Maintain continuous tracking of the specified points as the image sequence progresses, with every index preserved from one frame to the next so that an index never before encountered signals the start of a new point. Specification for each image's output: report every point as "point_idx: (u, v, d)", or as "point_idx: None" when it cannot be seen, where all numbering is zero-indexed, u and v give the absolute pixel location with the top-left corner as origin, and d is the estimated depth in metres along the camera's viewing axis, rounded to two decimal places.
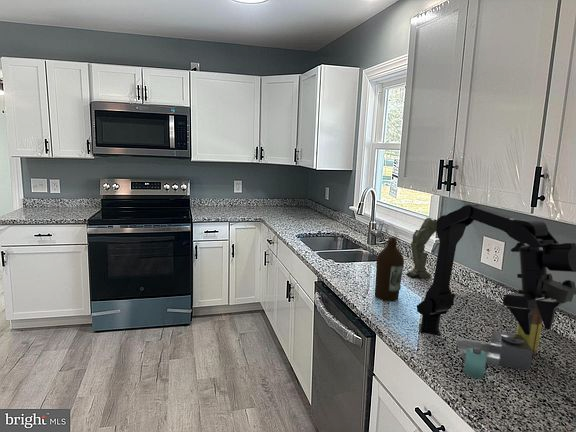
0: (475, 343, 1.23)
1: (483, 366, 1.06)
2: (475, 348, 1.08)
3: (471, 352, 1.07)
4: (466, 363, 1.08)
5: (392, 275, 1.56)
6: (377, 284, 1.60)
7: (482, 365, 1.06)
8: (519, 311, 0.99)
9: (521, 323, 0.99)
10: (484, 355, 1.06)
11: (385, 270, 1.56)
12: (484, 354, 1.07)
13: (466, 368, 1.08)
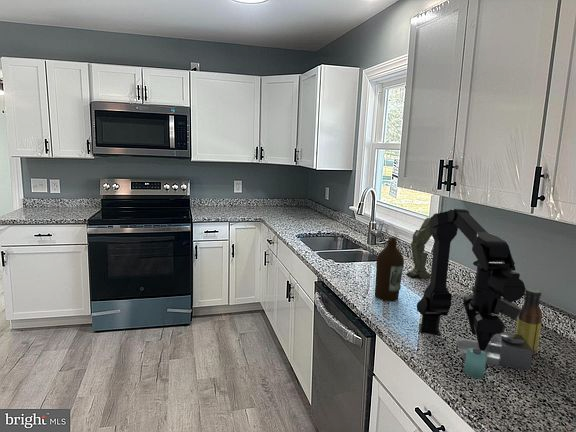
0: (475, 343, 1.23)
1: (483, 366, 1.06)
2: (475, 348, 1.08)
3: (471, 352, 1.07)
4: (466, 363, 1.08)
5: (392, 275, 1.56)
6: (377, 284, 1.60)
7: (482, 365, 1.06)
8: None
9: (481, 341, 1.02)
10: (484, 355, 1.06)
11: (385, 270, 1.56)
12: (484, 354, 1.07)
13: (466, 368, 1.08)
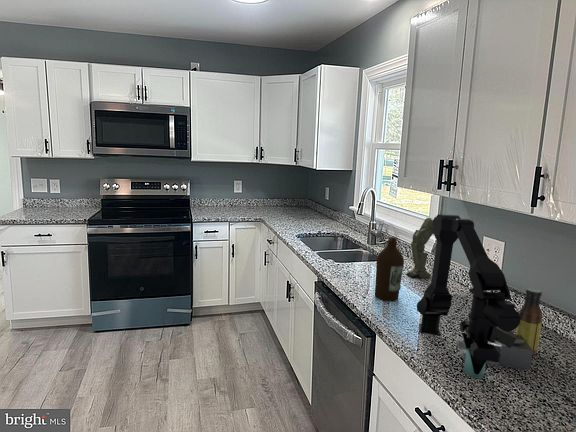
0: None
1: (483, 366, 1.06)
2: None
3: None
4: (466, 363, 1.08)
5: (392, 275, 1.56)
6: (377, 284, 1.60)
7: None
8: None
9: (475, 365, 1.05)
10: None
11: (385, 270, 1.56)
12: None
13: (466, 368, 1.08)
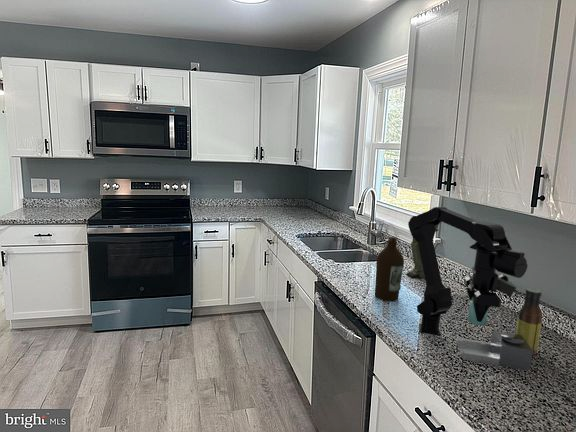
0: (475, 343, 1.23)
1: (486, 314, 1.15)
2: None
3: None
4: (470, 312, 1.17)
5: (392, 275, 1.56)
6: (377, 284, 1.60)
7: None
8: None
9: (478, 313, 1.14)
10: None
11: (385, 270, 1.56)
12: None
13: (469, 317, 1.17)
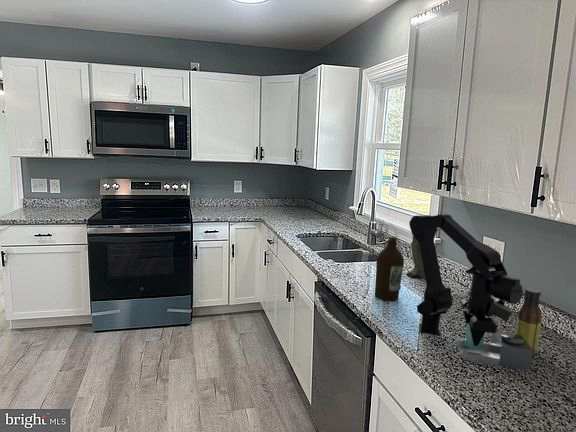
0: None
1: (482, 338, 1.17)
2: None
3: None
4: (466, 336, 1.19)
5: (392, 275, 1.56)
6: (377, 284, 1.60)
7: None
8: None
9: (475, 337, 1.15)
10: None
11: (385, 270, 1.56)
12: None
13: (466, 341, 1.19)
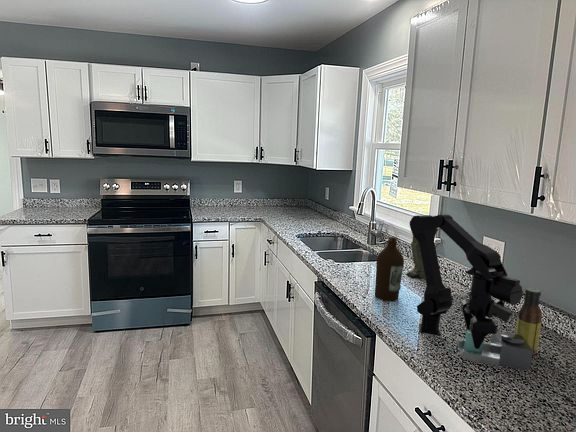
0: None
1: (481, 345, 1.17)
2: None
3: (470, 333, 1.18)
4: (466, 343, 1.19)
5: (392, 275, 1.56)
6: (377, 284, 1.60)
7: None
8: (477, 331, 1.13)
9: (476, 340, 1.14)
10: None
11: (385, 270, 1.56)
12: None
13: (465, 348, 1.19)
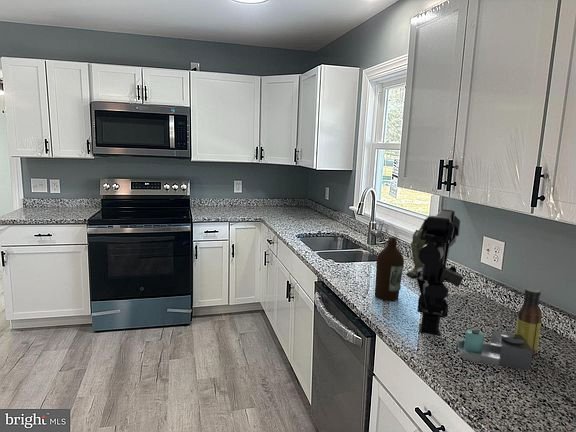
0: None
1: (481, 345, 1.17)
2: (474, 329, 1.19)
3: (470, 333, 1.19)
4: (466, 343, 1.19)
5: (392, 275, 1.56)
6: (377, 284, 1.60)
7: (480, 344, 1.17)
8: (430, 296, 1.14)
9: (429, 306, 1.15)
10: (482, 335, 1.17)
11: (385, 270, 1.56)
12: (482, 334, 1.18)
13: (465, 348, 1.19)
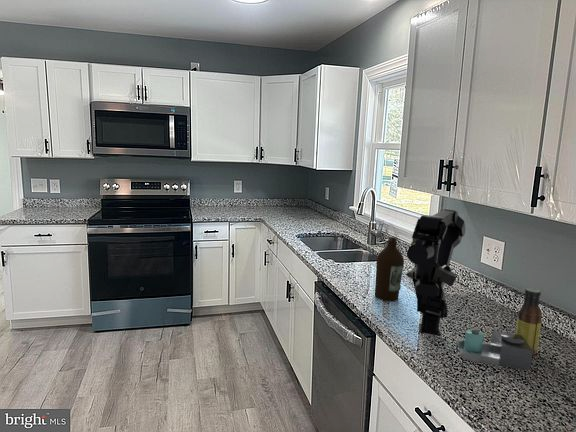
0: None
1: (481, 345, 1.17)
2: (473, 329, 1.19)
3: (470, 333, 1.18)
4: (465, 343, 1.19)
5: (392, 275, 1.56)
6: (377, 284, 1.60)
7: (480, 344, 1.17)
8: (422, 295, 1.15)
9: (421, 305, 1.16)
10: (482, 335, 1.17)
11: (385, 270, 1.56)
12: (482, 334, 1.18)
13: (465, 348, 1.19)
